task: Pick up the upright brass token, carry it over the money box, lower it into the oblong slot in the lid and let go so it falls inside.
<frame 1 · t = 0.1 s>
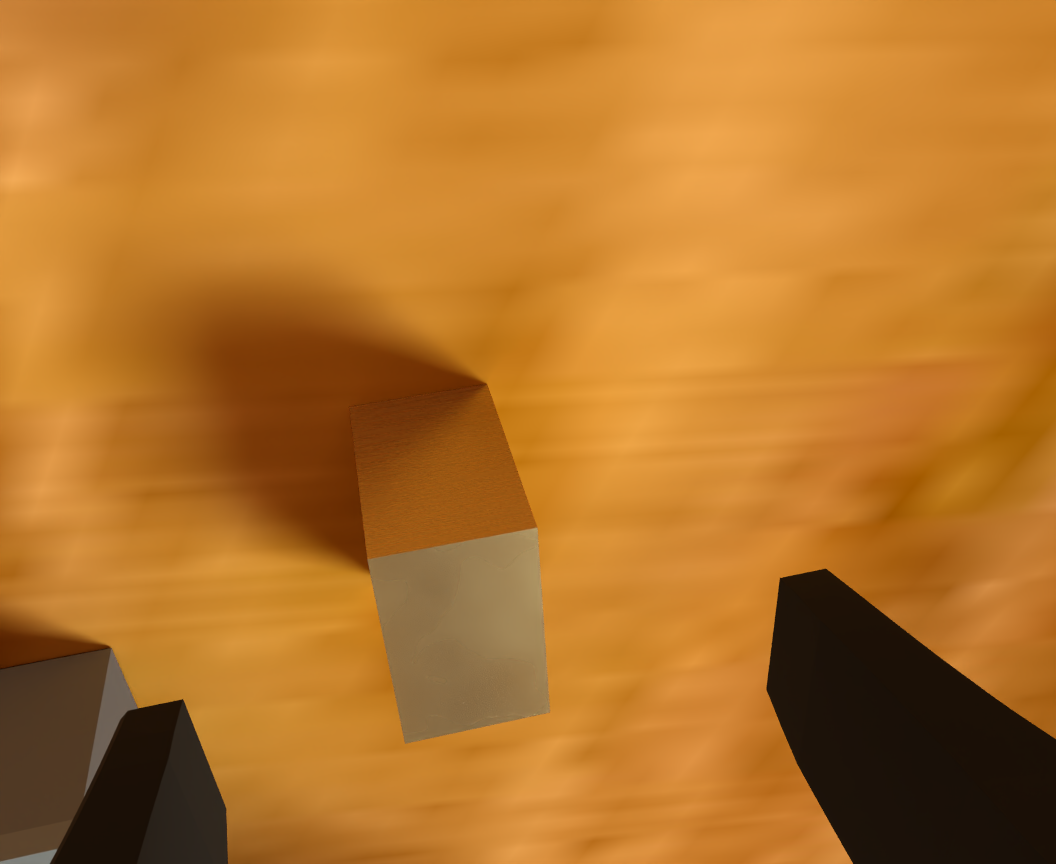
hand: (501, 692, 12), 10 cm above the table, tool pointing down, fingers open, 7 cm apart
brass token: (431, 485, 22), on the table
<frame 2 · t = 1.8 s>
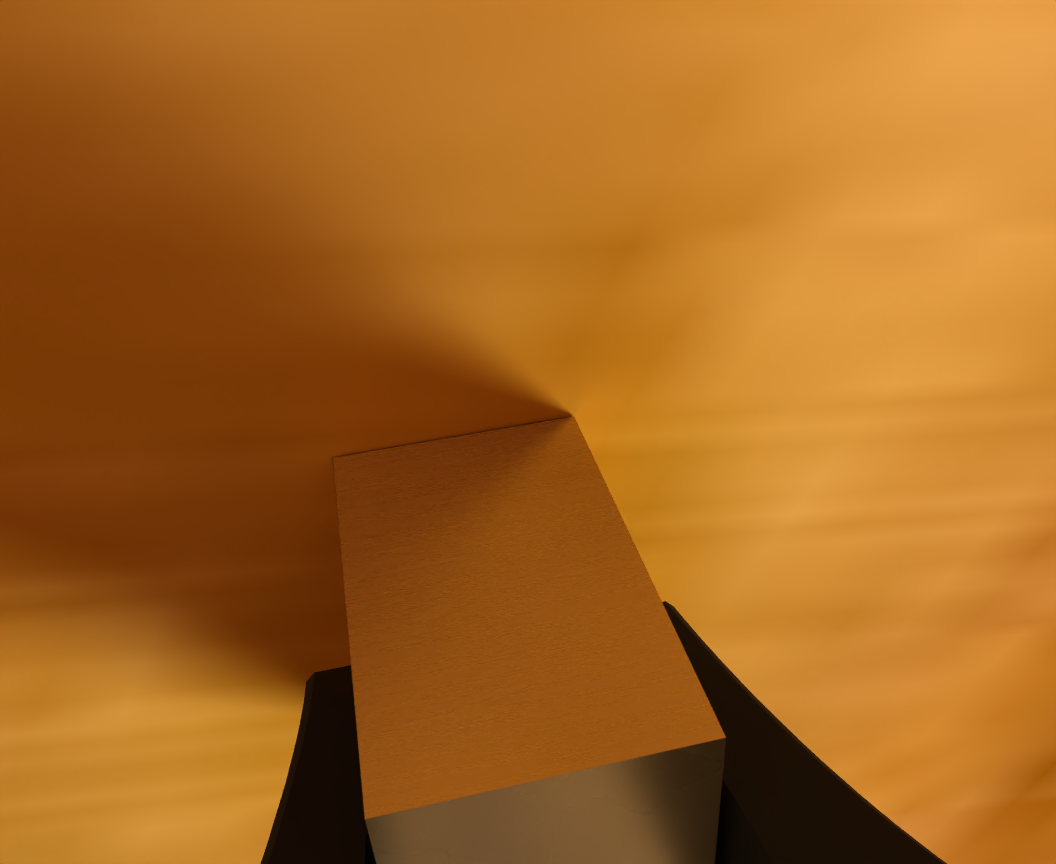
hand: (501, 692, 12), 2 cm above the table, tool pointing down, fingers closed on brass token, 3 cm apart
brass token: (474, 585, 13), on the table, touching gripper
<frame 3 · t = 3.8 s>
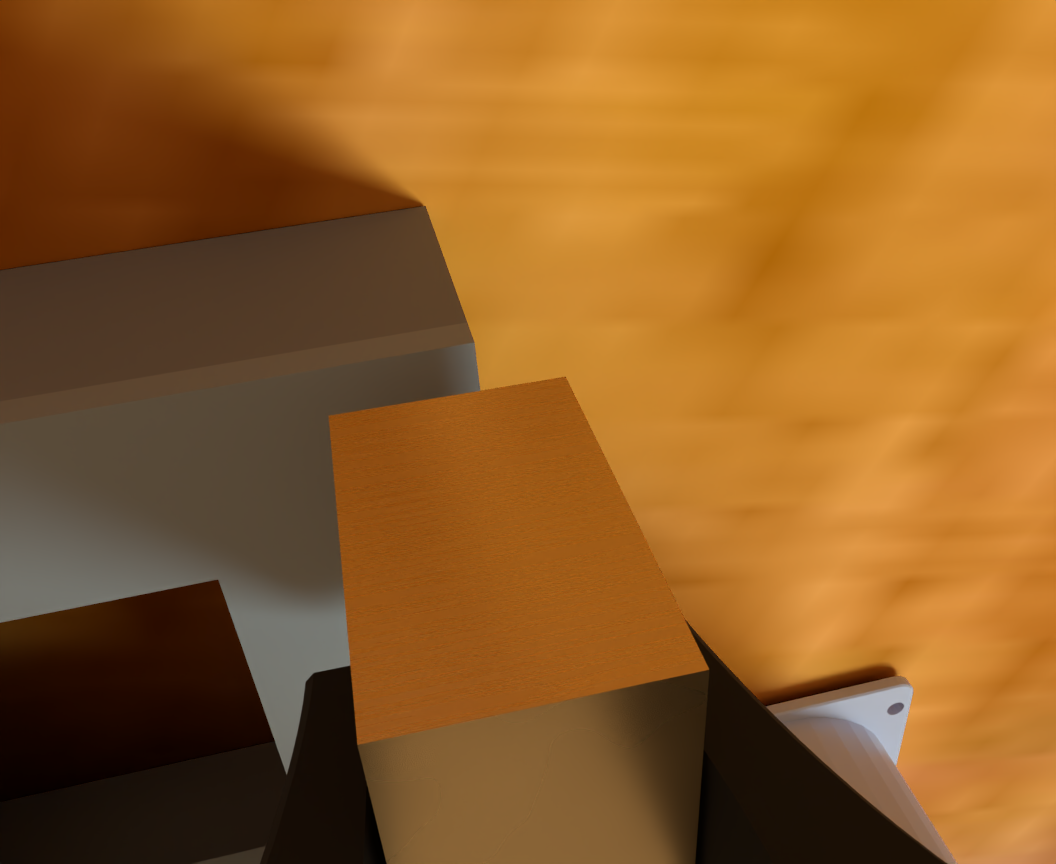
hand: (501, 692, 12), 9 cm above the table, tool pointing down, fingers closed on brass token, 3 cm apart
brass token: (467, 546, 14), point 6 cm above the table, touching gripper
money box: (142, 570, 20), on the table
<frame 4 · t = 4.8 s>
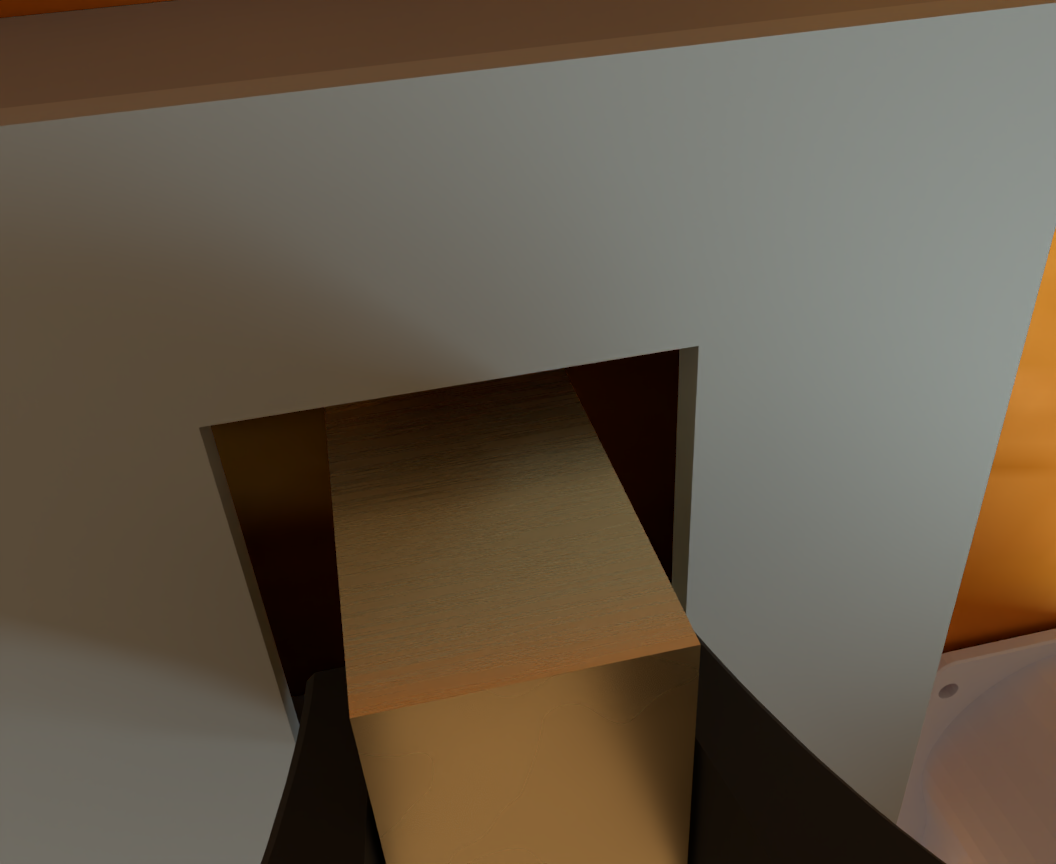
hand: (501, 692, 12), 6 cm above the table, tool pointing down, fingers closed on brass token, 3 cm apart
brass token: (463, 531, 14), point 4 cm above the table, touching gripper
money box: (433, 416, 17), on the table
when the fingers open (6 cm above the table, at t = 5.6 s): brass token drops 3 cm, resting in money box.
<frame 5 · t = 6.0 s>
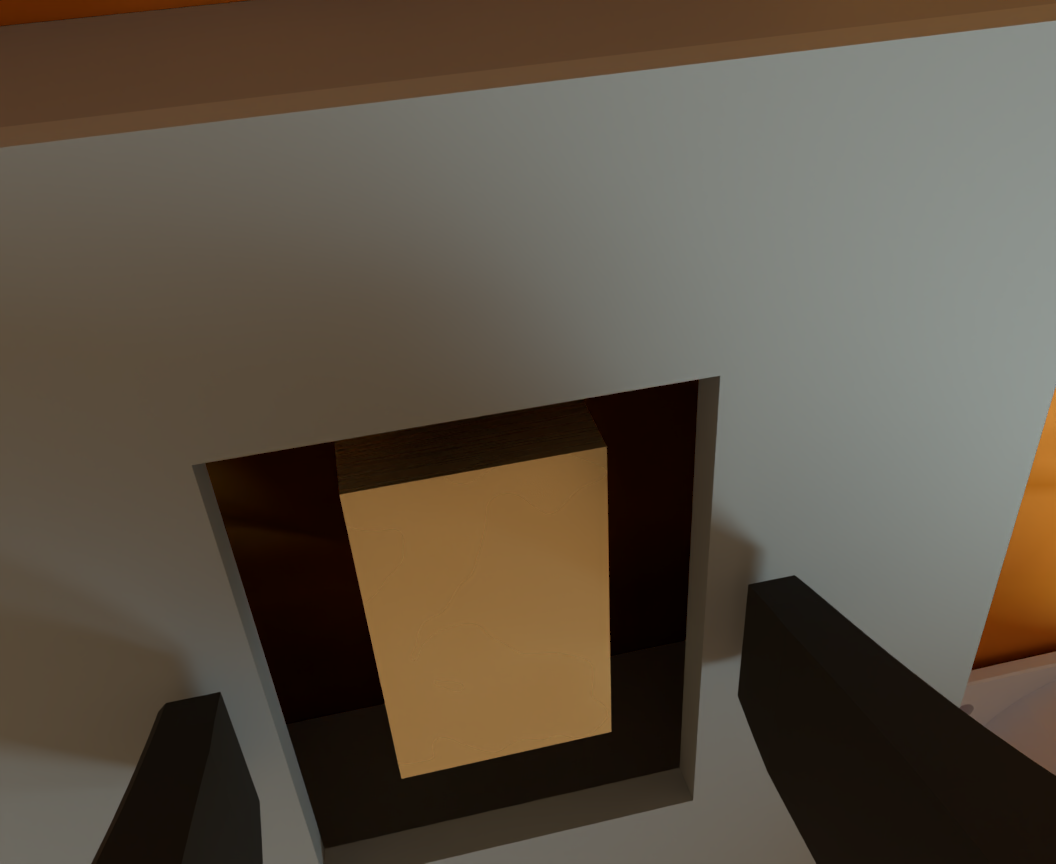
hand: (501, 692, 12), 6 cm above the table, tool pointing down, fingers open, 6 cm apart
brass token: (437, 415, 16), resting in money box
money box: (437, 437, 16), on the table
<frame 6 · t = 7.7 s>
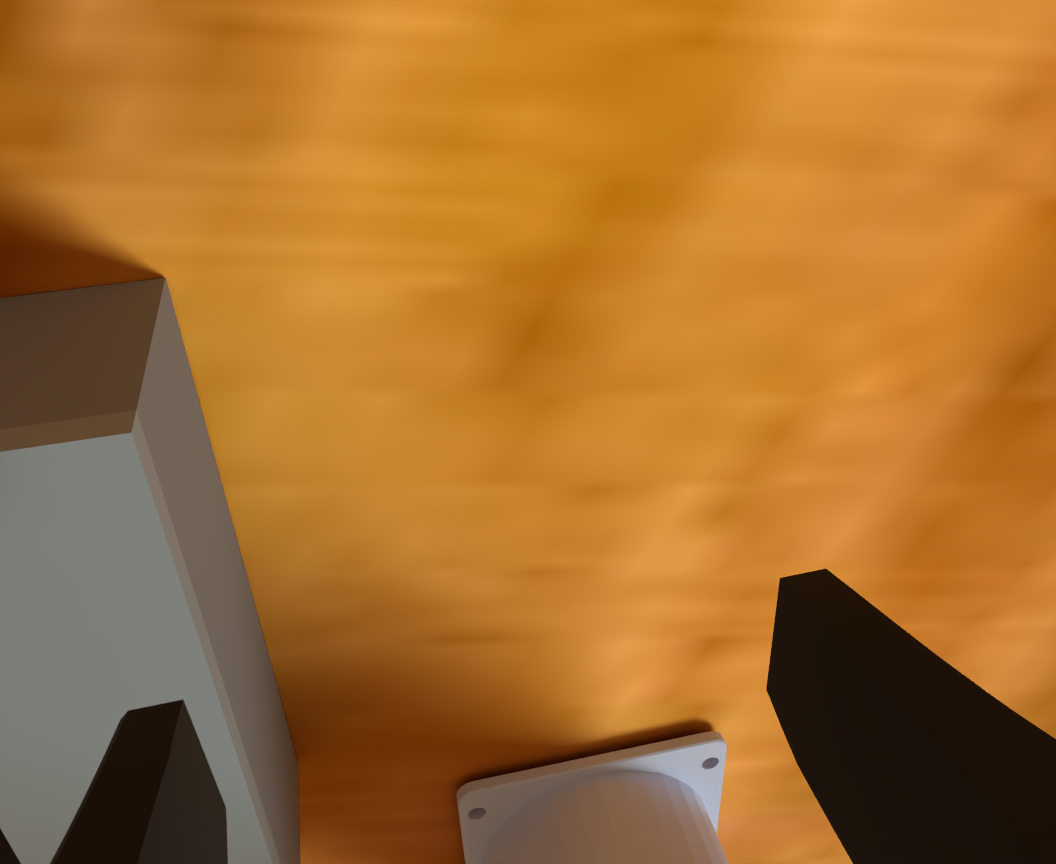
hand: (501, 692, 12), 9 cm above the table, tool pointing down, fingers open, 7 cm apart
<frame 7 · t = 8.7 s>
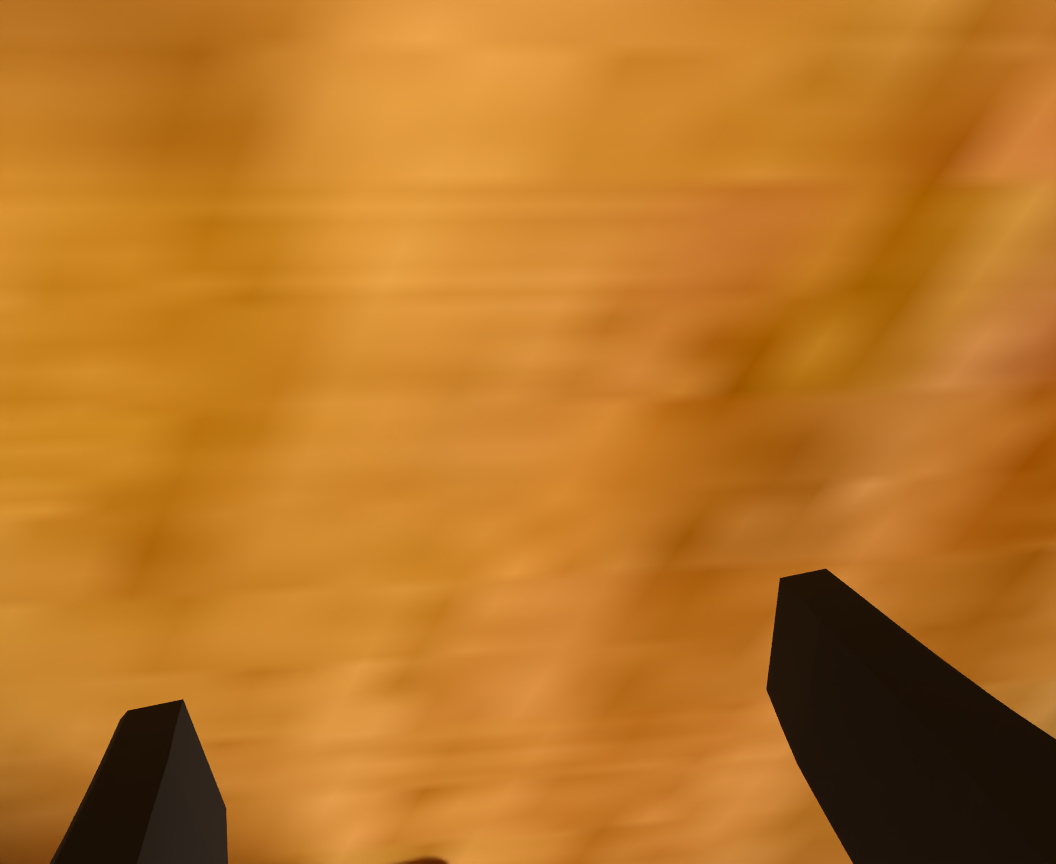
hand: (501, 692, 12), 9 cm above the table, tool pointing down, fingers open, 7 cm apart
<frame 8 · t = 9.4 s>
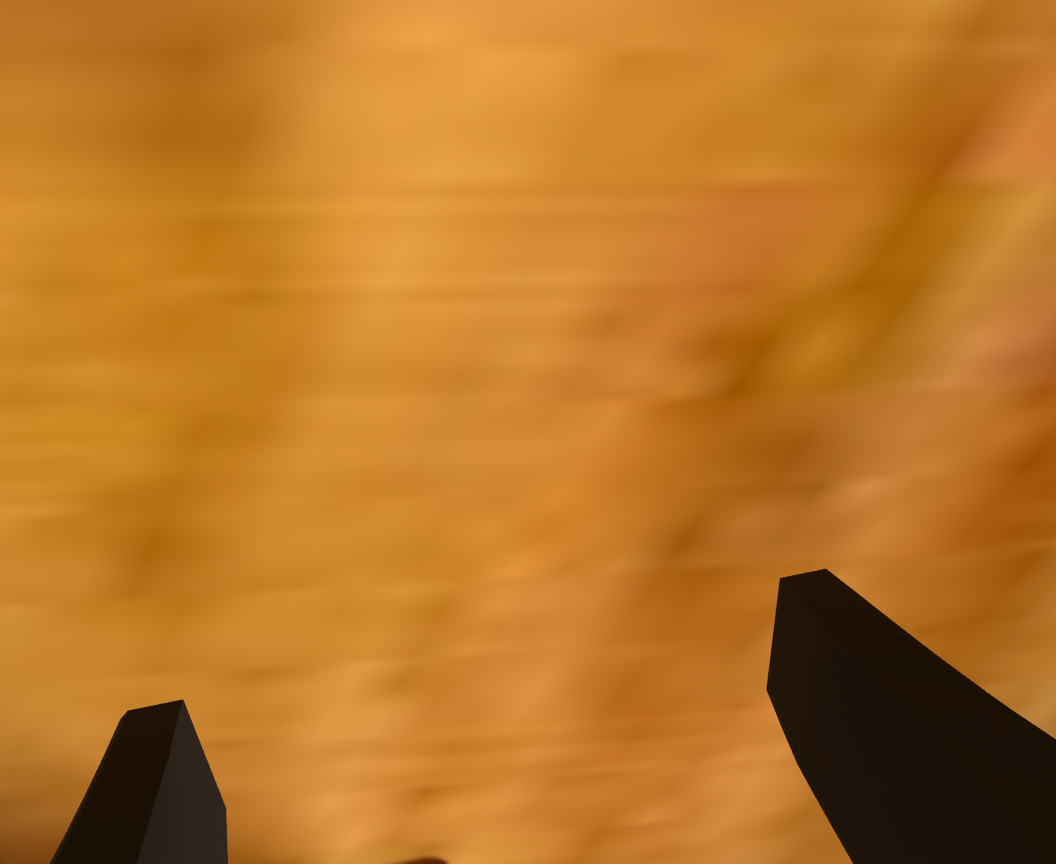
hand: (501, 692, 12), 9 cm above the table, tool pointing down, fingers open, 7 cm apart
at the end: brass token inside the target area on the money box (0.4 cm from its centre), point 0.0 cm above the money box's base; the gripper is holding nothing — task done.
